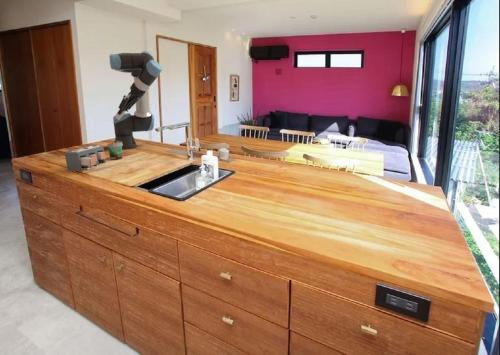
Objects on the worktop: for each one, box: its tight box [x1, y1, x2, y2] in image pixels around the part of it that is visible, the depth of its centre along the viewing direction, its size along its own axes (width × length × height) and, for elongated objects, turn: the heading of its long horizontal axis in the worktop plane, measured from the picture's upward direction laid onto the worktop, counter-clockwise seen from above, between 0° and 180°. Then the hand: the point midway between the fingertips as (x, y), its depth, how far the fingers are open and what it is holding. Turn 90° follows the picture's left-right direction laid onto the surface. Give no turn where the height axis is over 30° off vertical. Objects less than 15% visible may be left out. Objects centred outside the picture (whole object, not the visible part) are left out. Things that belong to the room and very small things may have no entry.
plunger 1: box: [80, 157, 96, 167], centre depth 174 cm, size 8×4×4 cm, turn 74°
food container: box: [107, 141, 123, 161], centre depth 200 cm, size 12×6×10 cm, turn 179°
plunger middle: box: [89, 154, 98, 161], centre depth 181 cm, size 8×4×4 cm, turn 74°
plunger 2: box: [97, 151, 106, 160], centre depth 187 cm, size 8×4×4 cm, turn 74°
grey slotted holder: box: [64, 144, 106, 172], centre depth 182 cm, size 8×19×10 cm, turn 164°
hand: (117, 117), depth 182 cm, fingers closed
